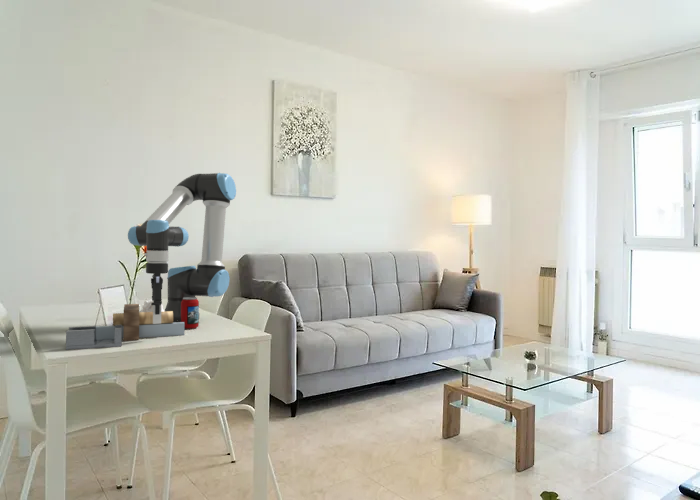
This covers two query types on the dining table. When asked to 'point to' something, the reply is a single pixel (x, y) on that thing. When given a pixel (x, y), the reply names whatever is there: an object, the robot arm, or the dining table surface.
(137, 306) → the brown wooden block
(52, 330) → the dining table surface
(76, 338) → the cradle
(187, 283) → the robot arm
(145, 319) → the dowel
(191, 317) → the beverage can
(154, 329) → the rail
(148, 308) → the figurine
